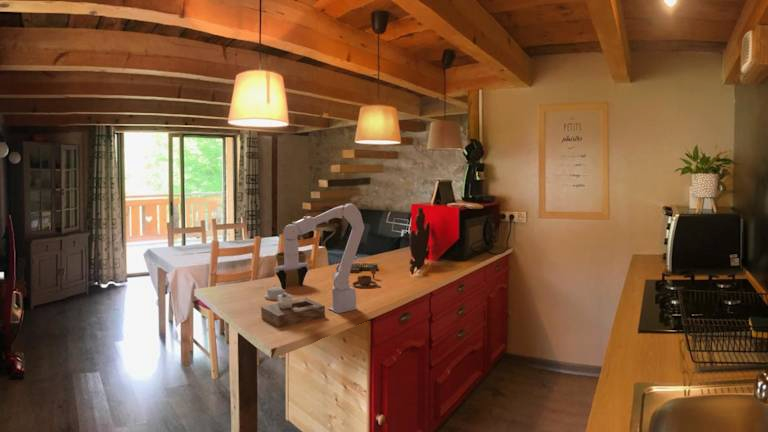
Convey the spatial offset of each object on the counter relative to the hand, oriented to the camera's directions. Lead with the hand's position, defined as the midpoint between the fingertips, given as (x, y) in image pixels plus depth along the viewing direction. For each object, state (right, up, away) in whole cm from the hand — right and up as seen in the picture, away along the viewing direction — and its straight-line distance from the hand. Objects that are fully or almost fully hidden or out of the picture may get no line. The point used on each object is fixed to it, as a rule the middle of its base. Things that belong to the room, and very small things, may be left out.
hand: (292, 287), depth 195 cm
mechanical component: (-12, -9, +24) cm, 28 cm away
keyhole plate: (+1, -11, -5) cm, 12 cm away
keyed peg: (-1, -10, -8) cm, 13 cm away
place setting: (+30, -6, +47) cm, 56 cm away
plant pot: (-9, -6, +47) cm, 48 cm away
